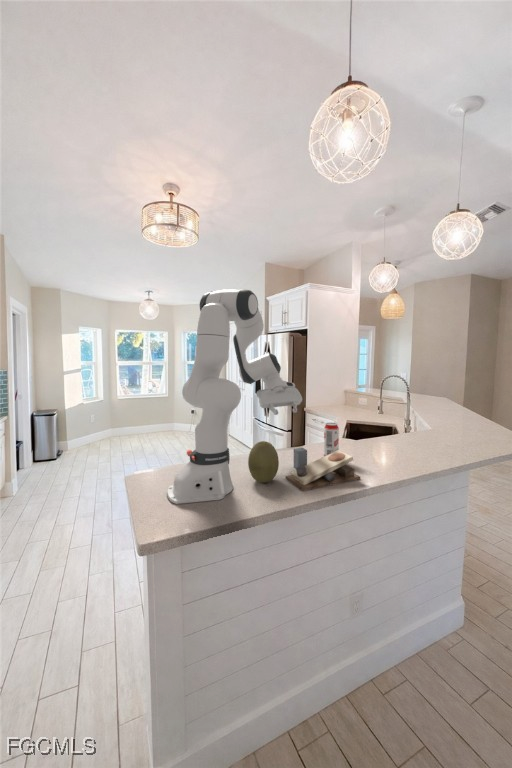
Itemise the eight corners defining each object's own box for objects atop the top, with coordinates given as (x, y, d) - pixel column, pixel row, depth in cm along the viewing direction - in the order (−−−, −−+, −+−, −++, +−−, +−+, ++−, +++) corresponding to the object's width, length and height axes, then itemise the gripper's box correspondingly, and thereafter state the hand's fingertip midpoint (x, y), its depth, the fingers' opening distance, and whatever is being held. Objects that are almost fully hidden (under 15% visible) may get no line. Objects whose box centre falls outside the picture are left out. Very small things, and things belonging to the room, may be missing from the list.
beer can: (322, 460, 140) (322, 424, 138) (326, 456, 145) (326, 421, 144) (336, 462, 137) (336, 426, 135) (340, 458, 142) (340, 423, 141)
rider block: (298, 470, 128) (298, 451, 127) (293, 467, 132) (293, 448, 131) (307, 469, 129) (307, 450, 129) (302, 466, 133) (302, 447, 132)
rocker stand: (301, 490, 109) (301, 479, 109) (285, 478, 120) (285, 468, 120) (360, 479, 118) (360, 468, 118) (340, 468, 129) (340, 459, 129)
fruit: (244, 477, 121) (243, 439, 120) (271, 473, 125) (271, 436, 124) (254, 489, 110) (254, 447, 109) (284, 484, 114) (283, 443, 113)
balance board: (304, 485, 111) (301, 475, 110) (291, 476, 119) (289, 467, 119) (353, 460, 118) (351, 450, 118) (338, 453, 127) (336, 444, 126)
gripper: (257, 385, 142) (266, 411, 134) (297, 383, 150) (308, 406, 142) (253, 394, 147) (262, 419, 139) (292, 391, 154) (303, 414, 146)
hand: (286, 413), depth 140 cm, fingers open, 8 cm apart
